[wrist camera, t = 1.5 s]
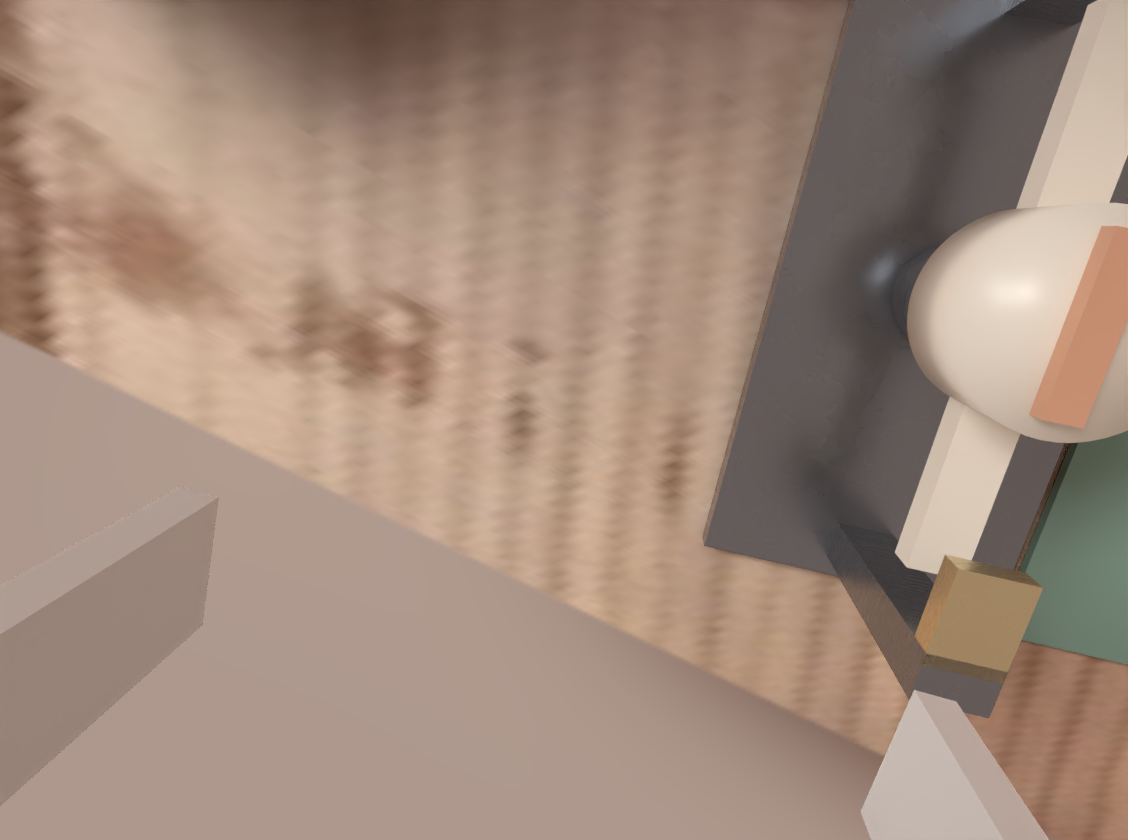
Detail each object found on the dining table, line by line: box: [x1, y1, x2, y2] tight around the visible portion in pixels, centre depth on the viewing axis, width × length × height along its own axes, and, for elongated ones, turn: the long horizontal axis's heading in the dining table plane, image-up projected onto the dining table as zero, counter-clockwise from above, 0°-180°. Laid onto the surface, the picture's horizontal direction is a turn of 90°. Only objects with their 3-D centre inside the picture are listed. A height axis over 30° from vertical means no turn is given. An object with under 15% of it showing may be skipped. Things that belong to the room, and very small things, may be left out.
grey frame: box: [703, 0, 1128, 718], centre depth 30 cm, size 31×16×14 cm, turn 169°
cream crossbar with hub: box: [895, 0, 1128, 574], centre depth 26 cm, size 22×8×6 cm, turn 169°
